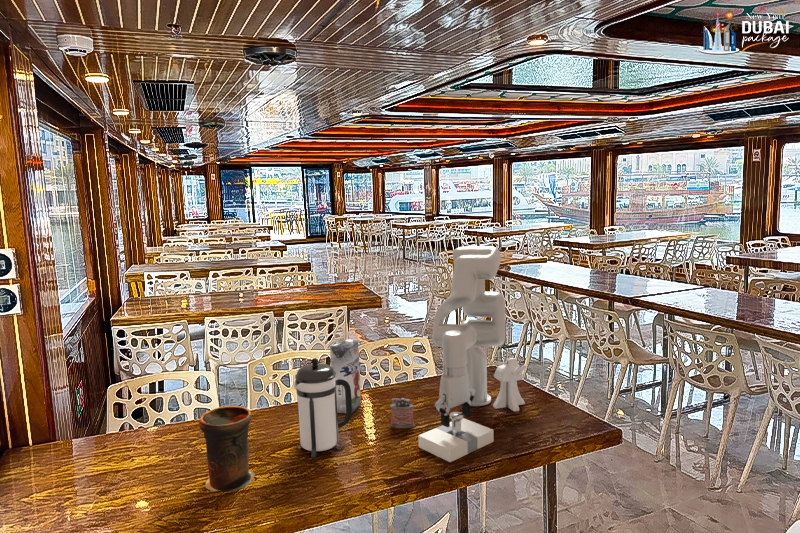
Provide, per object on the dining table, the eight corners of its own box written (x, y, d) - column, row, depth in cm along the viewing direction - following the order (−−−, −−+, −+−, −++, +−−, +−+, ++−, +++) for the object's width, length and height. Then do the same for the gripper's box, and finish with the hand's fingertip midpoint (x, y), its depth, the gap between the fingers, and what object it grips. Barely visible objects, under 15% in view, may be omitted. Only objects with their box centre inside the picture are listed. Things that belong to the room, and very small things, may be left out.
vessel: (236, 462, 176) (232, 400, 173) (265, 477, 167) (261, 412, 164) (193, 482, 165) (188, 416, 162) (222, 499, 156) (217, 430, 153)
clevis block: (450, 462, 171) (449, 449, 171) (418, 447, 182) (418, 435, 181) (493, 441, 184) (493, 429, 184) (461, 428, 195) (461, 417, 194)
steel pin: (447, 444, 184) (446, 414, 182) (456, 439, 186) (456, 410, 185) (457, 448, 180) (456, 418, 179) (466, 444, 183) (466, 414, 182)
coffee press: (338, 461, 175) (333, 366, 170) (288, 457, 178) (283, 365, 174) (353, 436, 191) (349, 350, 187) (308, 434, 195) (303, 348, 190)
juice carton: (330, 413, 211) (327, 343, 208) (341, 403, 221) (338, 335, 217) (353, 415, 209) (349, 344, 205) (363, 405, 219) (360, 336, 215)
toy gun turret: (484, 402, 217) (483, 356, 215) (515, 397, 221) (515, 352, 219) (498, 414, 206) (498, 366, 204) (531, 408, 210) (531, 361, 207)
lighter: (414, 424, 200) (413, 396, 198) (413, 428, 197) (412, 400, 195) (391, 423, 201) (390, 396, 199) (390, 427, 197) (389, 400, 196)
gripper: (465, 360, 188) (466, 409, 191) (426, 374, 177) (428, 425, 180) (482, 365, 183) (483, 416, 185) (443, 379, 171) (445, 433, 174)
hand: (456, 421), depth 183 cm, fingers open, 9 cm apart
